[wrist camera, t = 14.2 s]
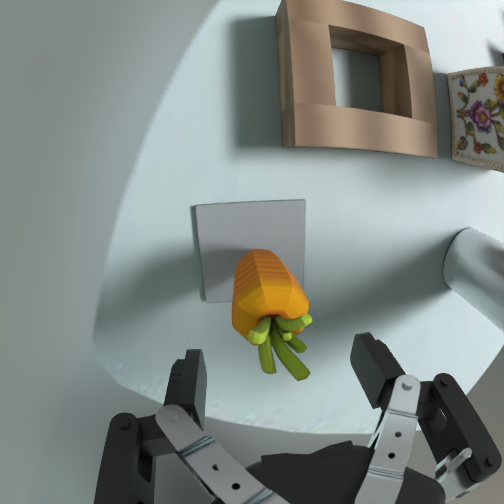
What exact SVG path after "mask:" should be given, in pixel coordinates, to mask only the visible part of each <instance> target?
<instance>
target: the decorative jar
mask: <svg viewBox="0 0 504 504" xmlns="http://www.w3.org/2000/svg"><path fill="white" fill-rule="evenodd" d="M447 79H448V86H449V96H450V107H451V124H452V159H453V160H455V161H458V162H463V163H466V164H471V165H476V166H480V167H484V168H488V169H492V170H495V171H499V172H503V173H504V66H495V67H483V68H475V69H469V70H463V71H458V72H453V73H448V75H447Z"/></svg>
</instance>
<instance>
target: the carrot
mask: <svg viewBox="0 0 504 504" xmlns="http://www.w3.org/2000/svg"><path fill="white" fill-rule="evenodd" d="M308 309H309V301H308V298H307V297H306V295H305V293H304V291H303V290H302V288H301V286H300V285H299V283H298V282H297V280H296V279H295V277H294V276H293V274H292V273H291V272H290V271H289V269H288V268H287V267H286V266H285V265H284V263H283V262H282V261H281V260H280V259H279V257H277V256H276V255H275V254H274V253H273V252H271V251H270V250H265V249H252V250H251V251H249V252H248V253H247V254H246V255H244V256H243V257H242V258H240V260H239V262H238V264H237V267H236V269H235V276H234V287H233V300H232V325H233V327H234V329H235V330H237V331H238V332H239V333H240V334H241V335H242V336H243V337H244V338H246V339H247V340H248V341H249V342H250V343H251V344H252V345H258V351H259V359H260V364H261V368H262V370H263V371H264V372H265V373H268V374H273V373H276V368H275V363H274V359H273V355H272V351H271V346H273V348H274V350H275V352H276V354H277V356H278V358H279V360H280V361H281V362H282V363H283V365H284V366H285V367H286V369H287V370H288V371H289V372H290V373H291V374H292V376H293V377H294V378H295V379H296V380H297V381H300V380H303V379H306V378H307V377H308V376H309V374H310V371H309V370H308V369H307V368H306V366H305V365H304V364H303V363H302V362H301V361H300V360H299V359H298V358H297V357H296V356H295V355H294V353H293V352H292V351H291V350H290V349H289V348H288V347H287V345H286V344H285V342H286V343H287V344H288V345H289V346H290V347H291V348H292V349H293V350H295V351H296V352H297V353H302V352H304V351H305V350H306V348H307V347H306V345H305V344H304V343H303V342H302V341H301V340H299V339H298V338H297V337H295V336H296V335H297V334H299V333H300V332H302V331H303V329H304V327H305V326H307V325H308V324H310V323H311V322H312V318H311V316H310V315H309V314H307V313H308Z"/></svg>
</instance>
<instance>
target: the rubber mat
mask: <svg viewBox="0 0 504 504" xmlns="http://www.w3.org/2000/svg"><path fill="white" fill-rule="evenodd" d="M305 212H306V200H304V199H300V200H270V201H249V202H231V203H216V204H202V205H196V216H197V227H198V237H199V246H200V256H201V264H202V273H203V281H204V289H205V297H206V303H217V302H232V300H233V287H234V276H235V269H236V267H237V264H238V262H239V260H240V258H242V257H243V256H244V255H246V254H247V253H248V252H249V251H251V250H252V249H265V250H270V251H271V252H273V253H274V254H275V255H276V256H277V257H279V259H280V260H281V261H282V262H283V263H284V265H285V266H286V267H287V268H288V269H289V271H290V272H291V273H292V274H293V276H294V277H295V279H296V280H297V282H298V283H299V285H300V286H301V288H302V290H303V275H304V251H305Z"/></svg>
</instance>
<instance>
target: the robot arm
mask: <svg viewBox="0 0 504 504" xmlns="http://www.w3.org/2000/svg"><path fill="white" fill-rule="evenodd" d="M443 276H444V280H445V283H446V284H447V285H448V286H449V287H450V288H451V289H453V290H454V291H455V292H456V293H458V294H459V295H460V296H461V297H463V298H464V299H465V300H466V301H468V302H469V303H470V304H471V305H472V306H474V307H475V308H476V309H477V310H479V311H480V312H481V313H482V314H483V315H484V316H486V317H487V318H488V319H489V320H490V321H491V322H493V323H494V324H495V325H496V326H497V327H498V328H499V329H500V330H502V331H503V332H504V243H502V242H500V241H498V240H496V239H494V238H492V237H490V236H488V235H486V234H484V233H482V232H480V231H477V230H475V229H473V228H467V229H464V230H463V231H461V232H460V233H459V234H458V235H457V236H456V237H455V239H454V240H453V242H452V243H451V245H450V247H449V249H448V252H447V254H446V257H445V261H444V267H443ZM350 361H351V365H352V368H353V370H354V372H355V374H356V376H357V378H358V380H359V382H360V384H361V386H362V388H363V390H364V392H365V394H366V396H367V398H368V400H369V402H370V404H371V406H372V408H373V409H375V408H379V407H380V408H381V410H382V411H381V413H380V416H379V419H378V422H377V424H376V427H375V430H374V433H373V435H372V438H371V440H370V442H369V445H368V446H367V447H365V446H356V445H353V444H352V441H351V440H350V441H346V442H342V443H338V444H333V445H330V446H327V447H325V448H323V449H321V450H319V451H316V452H314V453H312V454H288V453H282V454H273V455H264V456H261V461H260V462H256V463H254V464H252V465H250V466H248V467H246V468H245V469H244V468H243V467H242V466H241V465H240V464H239V463H238V462H237V461H236V460H235V459H233V458H232V457H231V456H230V455H229V454H228V453H227V452H226V451H225V450H224V449H223V448H222V447H221V446H220V445H219V444H218V443H217V442H216V441H215V440H214V439H213V438H211V437H210V438H209V437H208V436H207V435H205V433H204V432H203V431H204V415H205V400H206V386H207V373H206V367H205V362H204V357H203V353H202V350H201V349H189V350H187V351H186V356H185V359H177V361H176V362H175V363H174V364H173V366H172V368H171V373H170V377H169V382H168V387H167V391H166V396H165V401H164V405H163V407H161V408H160V409H159V410H158V411H157V413H156V414H154V415H151V416H147V417H142V418H136V417H135V416H134V415H133V414H131V413H119V414H117V415H116V416H114V417H113V418H112V420H111V422H110V426H109V430H108V434H107V438H106V442H105V446H104V451H103V456H102V461H101V466H100V471H99V476H98V481H97V487H96V493H95V500H94V504H154V487H155V471H156V458H157V456H159V455H165V454H170V453H175V454H176V455H177V456H178V457H179V459H180V460H181V461H182V462H183V464H184V465H185V466H186V467H187V469H188V470H189V471H190V472H191V473H192V475H193V476H194V477H195V478H196V479H197V481H198V482H199V483H200V484H201V486H202V487H203V488H204V489H205V490H206V491H207V492H208V493H209V494H210V495H211V497H212V498H213V499H214V502H212V503H211V504H445V503H446V502H448V501H449V500H451V499H453V498H460V497H462V496H464V495H465V494H467V493H468V492H470V491H471V490H473V489H474V488H475V487H477V486H478V485H479V484H481V483H482V482H484V481H485V480H486V479H488V478H489V477H490V476H491V475H493V474H494V473H495V472H496V471H497V470H498V469H499V468H500V466H501V462H502V458H501V455H500V453H499V451H498V449H497V447H496V445H495V443H494V442H493V440H492V438H491V436H490V435H489V433H488V431H487V429H486V427H485V426H484V424H483V422H482V421H481V419H480V417H479V416H478V414H477V413H476V411H475V410H474V408H473V406H472V405H471V403H470V402H469V400H468V398H467V397H466V395H465V394H464V392H463V391H462V389H461V388H460V386H459V385H458V383H457V382H456V380H455V379H454V378H453V377H452V376H451V375H449V374H446V373H440V374H438V375H436V376H435V378H434V380H433V381H422V382H420V381H419V380H418V379H417V378H416V377H414V376H412V375H406V374H405V372H404V371H403V369H402V368H401V366H400V365H399V363H398V362H397V360H396V359H395V357H393V354H392V353H391V352H390V350H389V349H388V347H387V346H386V344H384V343H383V342H381V341H380V340H379V339H378V340H375V339H374V338H373V336H372V335H371V333H370V332H367V333H361V334H356V335H355V338H354V342H353V346H352V351H351V355H350ZM441 410H442V411H441ZM442 412H443V413H442ZM443 414H444V415H445V417H446V419H447V420H446V419H445V417H444V415H443ZM417 421H418V423H419V425H420V427H421V429H422V431H423V433H424V436H425V438H426V440H427V442H428V444H429V446H430V449H431V451H432V453H433V455H434V458H435V460H436V462H437V467H436V470H435V477H434V478H435V480H434V479H432V478H430V477H427V476H425V475H423V474H421V473H419V472H417V471H415V470H413V469H411V468H408V467H406V464H407V460H408V457H409V453H410V450H411V446H412V442H413V438H414V434H415V430H416V425H417Z"/></svg>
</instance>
